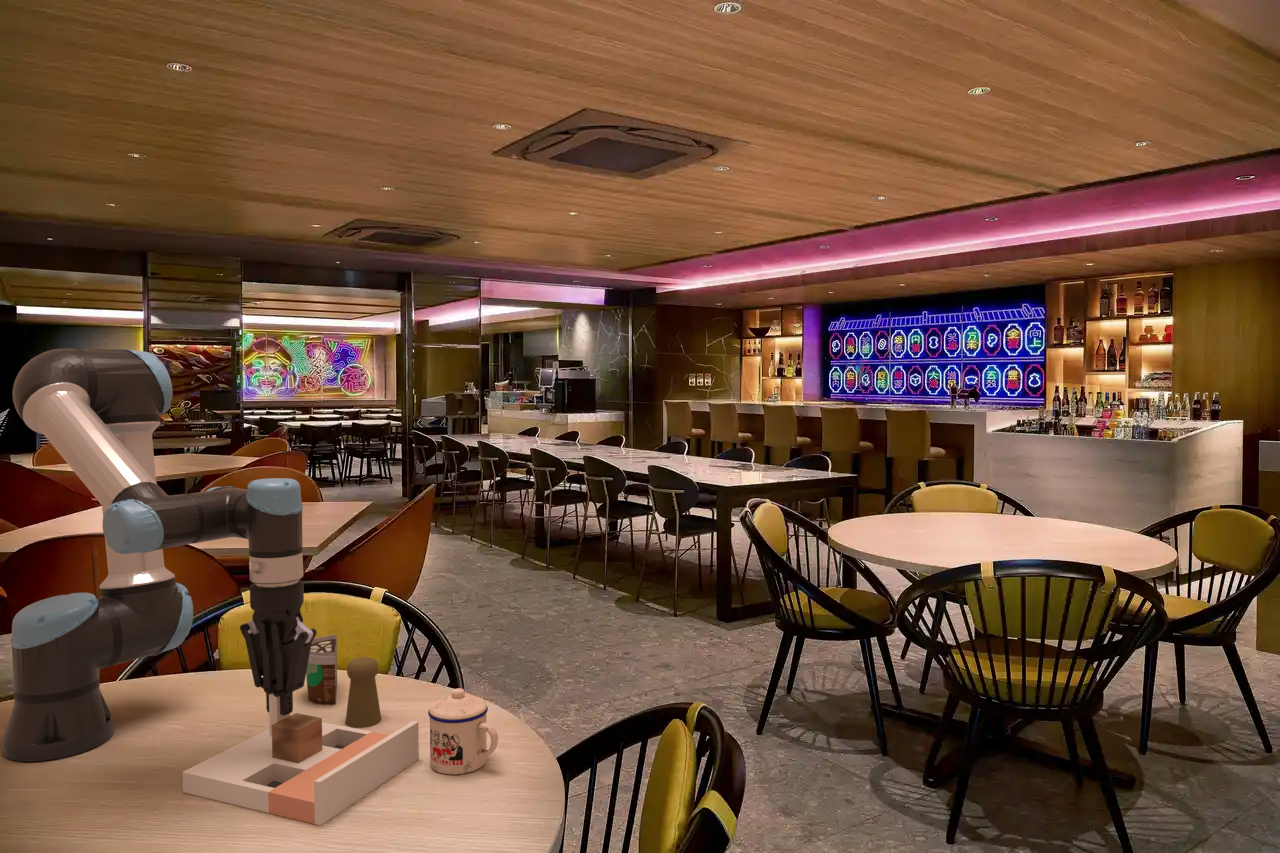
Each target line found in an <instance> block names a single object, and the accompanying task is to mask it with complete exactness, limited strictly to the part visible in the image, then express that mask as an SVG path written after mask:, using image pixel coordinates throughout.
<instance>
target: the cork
mask: <svg viewBox="0 0 1280 853" xmlns="http://www.w3.org/2000/svg"><path fill="white" fill-rule="evenodd" d="M378 672H379V663H378V662H377V660H376V659H375V658H373V657H368V656H360V657H357V658H354V659H352V660H350V661H349V663H348V664H347V668H346V674H347V677H348V678H349V679H350V682H349V690H348V697H347V707H346V713H345V714H346V715H345V723H344V725H346V727H351V728H356V729H361V728H362V729H363V728H369V727H372V726H375V725H377V724H379V723H380V722H381V721H382V714H381V707H380V701H379V695H378V689H377V682H376V676H377V675H378Z"/></svg>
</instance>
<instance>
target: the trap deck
mask: <svg viewBox="0 0 1280 853" xmlns="http://www.w3.org/2000/svg"><path fill="white" fill-rule="evenodd" d="M419 727H420V726H419V721H416V720H412V721H410V722H409V723H407V724H406V725H403V727H400V728H399V729H398V730H396V731H394V732H393V733H391V734H386V733H381V732H377V731H371V730H365V729H361V728H353V727H349V726H345V725H339V724H335V723H334V724H333V723H328V722H323V721H322V750H321V751H319V752H318V753H316V754H314V755H312V756H311V757H309V758H307V759H305V760H304V761H302V762H300V763H295V762H290V761H286V760H281V759H277V758H272V737H270V728H268V729H267V730H264V731H262V732H260V733H258V734H256V735H254V736H252V737H250V738H247V739H246V740H245V741H244V740H243V741H242V742H239V743H238V744H236V745H234V746H232V747H230V748H228V749H225V750H224V751H222V752H219V753H218V754H216V755H213V756H212V757H210V758H208V759H206V760H204V761H202V762H200V763H198V764H195V765H193V766H192V767H190V768H187V769H186V770H183V771H181V772H182V774H181V775H182V792H183V793H185V794H189V795H194V796H196V797H197V796H198V797H201V798H206V799H209V800H214V801H218V802H221V803H226V804H229V805H234V806H239V807H244V808H246V809H250V810H254V811H258V812H263V813H268V814H272V815H275V816H279V817H283V818H288V819H291V820H296V821H300V822H303V823H308V824H312V825H316V826H320V827H321V826H323V825H324V824H325V823H327V822H328V821H330V820H332V819H333V818H334V817H335V816H337V815H339V814H340V813H342V812H343V811H345V810H346V809H348V808H349V807H350V806H352V805H353V804H355V803H356V802H358V801H359V800H361V799H362V798H364V797H365V796H366V795H368V794H370V793H371V792H372V791H374V790H375V789H377V788H378V787H380V786H381V785H383V784H384V783H386V782H387V781H389V780H390V779H392V778H393V777H395V776H396V775H397V774H399V773H400V772H402V771H403V770H405V769H407V768H408V767H409V766H411V765H412V764H414V763H415V762H417V761H418V760H419V759H420V751H419V750H420V749H419V748H420V742H419V741H420V740H419V738H420V737H419V733H420V732H419Z"/></svg>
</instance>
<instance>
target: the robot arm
mask: <svg viewBox="0 0 1280 853" xmlns="http://www.w3.org/2000/svg"><path fill="white" fill-rule="evenodd" d="M13 383H14V384H13V387H12V401H13V405H14V408H15V410H16V412H17V414H18V415H19V416H18V417H20V419H22V421H23V422H24V424H25V425H26V426H27V427H28V428H29V429H31V431H34V432H36V433H38V434H42V435H44V437H45V438H46V439H47V441H48V442H49V443H50V444H51V445H52V447H54V449H55V450H56V451H57V453H58V454H59V455H60V456H61V457H62V459H63V460H64V461H65V462H66V463H67V465H68V466H69V467H70V468H71V469H72V471H73V472H74V473H75V475H76V476H77V477H78V478H79V480H81V482H82V483H83V484H84V486H85V487H86V489H88V490H89V492H91V494H92V495H93V496H94V497H95V498H96V500H97V501H98V502H99V504H100V505H101V510H102V532H103V535H104V539H105V540H104V541H105V542H104V543H105V551H106V552H105V553H106V561H107V564H106V565H107V571H108V572H107V573H108V575H107V576H106V577H105V579H104V580H103V581H102V582H101V583H100V585H99V596H100V597H99V598H97V597H96V595H95V594H93V593H90V592H72V593H68V594H58V595H54V596H50V597H47V598H44V599H41V600H38V601H35V602H33V603H31V604H29V605H27V606H24V607H23V608H22V609H21V610H19V611H18V612H17V613H16V614H15V616H14V617H13V618H12V624H11V638H10V645H11V653H12V654H11V655H12V657H11V658H12V673H13V674H12V675H13V676H12V677H13V698H14V699H13V700H14V702H13V707H12V710H11V713H10V716H9V719H8V723H7V726H6V727H5V728H6V729H5V733H4V734H3V736H2V754H3V756H4V757H5V758H6V759H8V760H12V761H17V762H41V761H42V762H43V761H51V760H57V759H62V758H66V757H70V756H76V755H78V754H80V753H84V752H87V751H89V750H92V749H94V748H96V747H99V746H101V745H102V744H104V743H106V742H107V741H108V740H109V739H111V737H112V736H113V734H114V719H113V718H114V717H113V716H112V714H111V711H110V709H109V707H108V705H107V701H106V700H105V698H104V696H103V693H102V691H101V688H100V687H101V686H100V671H101V669H105V668H109V667H113V666H114V667H115V666H117V665H120V664H125V663H127V662H131V661H134V660H137V659H143V658H146V657H149V656H151V657H155V656H158V655H159V654H162V653H164V652H166V651H171V650H172V649H173V650H174V649H175V648H178V647H179V646H181V645H182V643H183V642H184V641H185V640H186V637H188V635H189V633H190V630H191V628H192V626H193V620H194V619H193V618H194V605H193V599H192V596H191V595H189V590H188V588H186V586H185V585H183V584H181V583H178V582H176V576H175V574H174V573H173V572H172V571H170V570H169V569H167V567H166V566H165V562H164V561H165V560H164V550H163V549H170V548H176V547H180V546H184V545H191V544H192V545H193V544H197V543H198V544H199V543H206V542H210V541H217V540H223V539H229V538H239V539H246V540H248V559H249V563H248V564H249V567H248V568H249V581H250V582H251V583H252V584H251V585H250V586H249V607H250V608H251V610H252V611H253V614H252V617H251V618H252V619H251V620H250V621H248V622H246V623H243V624H241V625H240V626H239V631H240V632H241V634H242V636H243V638H244V641H245V645H246V649H247V656H248V659H249V664H250V669H251V673H252V679H253V684H254V686H255V687H256V688H261V689H263V692H264V693H265V698H266V700H265V701H266V704H265V705H266V707H265V708H266V712H267V713H269V729H270V737H272V725H273V724H275V723H277V722H279V721H281V720H283V719H285V718H287V717H289V716H291V713H293V711H294V710H293V709H294V701H293V700H294V699H293V697H294V696H293V695H294V692H296V691H297V690H301V689H302V688H304V687H305V680H306V671H307V665H308V660H309V654H310V649H311V643H312V641H313V640H314V639H316V638H315V637H316V636H317V633H318V632H317V630H316V629H315V628H314V627H313V628H308V627H307V626H306V624H304V618H303V615H302V613H301V608H302V606H303V604H304V602H305V597H304V596H305V595H304V592H305V591H304V589H305V588H304V582H303V580H301V579H302V578H303V577H304V559H303V507H304V504H303V501H302V493H301V491H302V489H301V484H300V482H299V481H297V480H296V479H294V478H288V477H287V478H285V477H284V478H282V477H281V478H279V477H273V478H272V477H271V478H270V477H268V478H259V479H255V480H251V481H250V482H249V483H248V485H247V488H246V489H245V488H239V487H235V486H231V485H226V486H216V487H215V486H214V487H211V488H209V489H207V490H205V491H199V492H192V493H182V494H173V495H169V494H167V493H166V492H165V491H164V490H163V489H162V488H161V487H160V485H159V484H157V477H156V474H157V473H156V465H155V464H156V462H155V455H154V454H155V453H154V444H153V443H154V442H153V433H154V431H155V430H156V429H157V428H158V427H159V426H160V425H161V415H164V414H165V413H166V412H167V411H168V410H169V409H170V407H171V405H172V403H171V401H172V400H173V384H172V380H171V377H170V374H169V371H168V370H167V368H166V366H165V365H164V363H163V362H162V361H161V360H160V359H159V358H158V357H157V356H156V355H155V354H153V353H150V352H148V351H143V350H134V349H133V350H132V349H128V348H125V349H111V348H109V349H105V348H104V349H102V348H101V349H97V348H95V349H94V348H93V349H91V348H89V349H87V348H86V349H85V348H81V349H80V348H56V349H50V350H47V351H44V352H42V353H39V354H37V355H36V356H34V357H33V358H31V359H30V360H29V361H27V363H25V364H24V365H23V366H22V367H21V369H20V370H19V372H18V374H17V376H16V377H15V380H14V382H13Z"/></svg>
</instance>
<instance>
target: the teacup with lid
mask: <svg viewBox="0 0 1280 853" xmlns="http://www.w3.org/2000/svg"><path fill="white" fill-rule="evenodd" d="M488 710H489V706H488V704H487V702H486V701H485V700H484V699H482V698H481V697H477V696H475V695H474V696H473V695H470V694H467V693H465V690H464V688H459V687H458V688H454V689H452V690H451V694H450V695H447V696H445V697H442V698H440V699H437V700H436V701H434V702H433V703H432V704H430V707H429V708H428V712H427V713H428V716H429V751H430V752H429V758H430V759H429V761H430V762H429V763H430V766H431V769H433V770H434V772H437V773H440V774H443V775H464V774H469V773H472V772H475V771H477V770H479V769H481V768H482V767H483V766H484V765H485V764H486V761H487V758H488V757H487V756H490V755H492V754H493V753H494V752H495V751H496V750H497V748H498V747H497V746H498V744H499V736H498V732H497V729H495V727H494V726H493V725H492V724H489V723H487V712H488ZM487 734H489V736H490V745H489V748H488V749H487Z"/></svg>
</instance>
